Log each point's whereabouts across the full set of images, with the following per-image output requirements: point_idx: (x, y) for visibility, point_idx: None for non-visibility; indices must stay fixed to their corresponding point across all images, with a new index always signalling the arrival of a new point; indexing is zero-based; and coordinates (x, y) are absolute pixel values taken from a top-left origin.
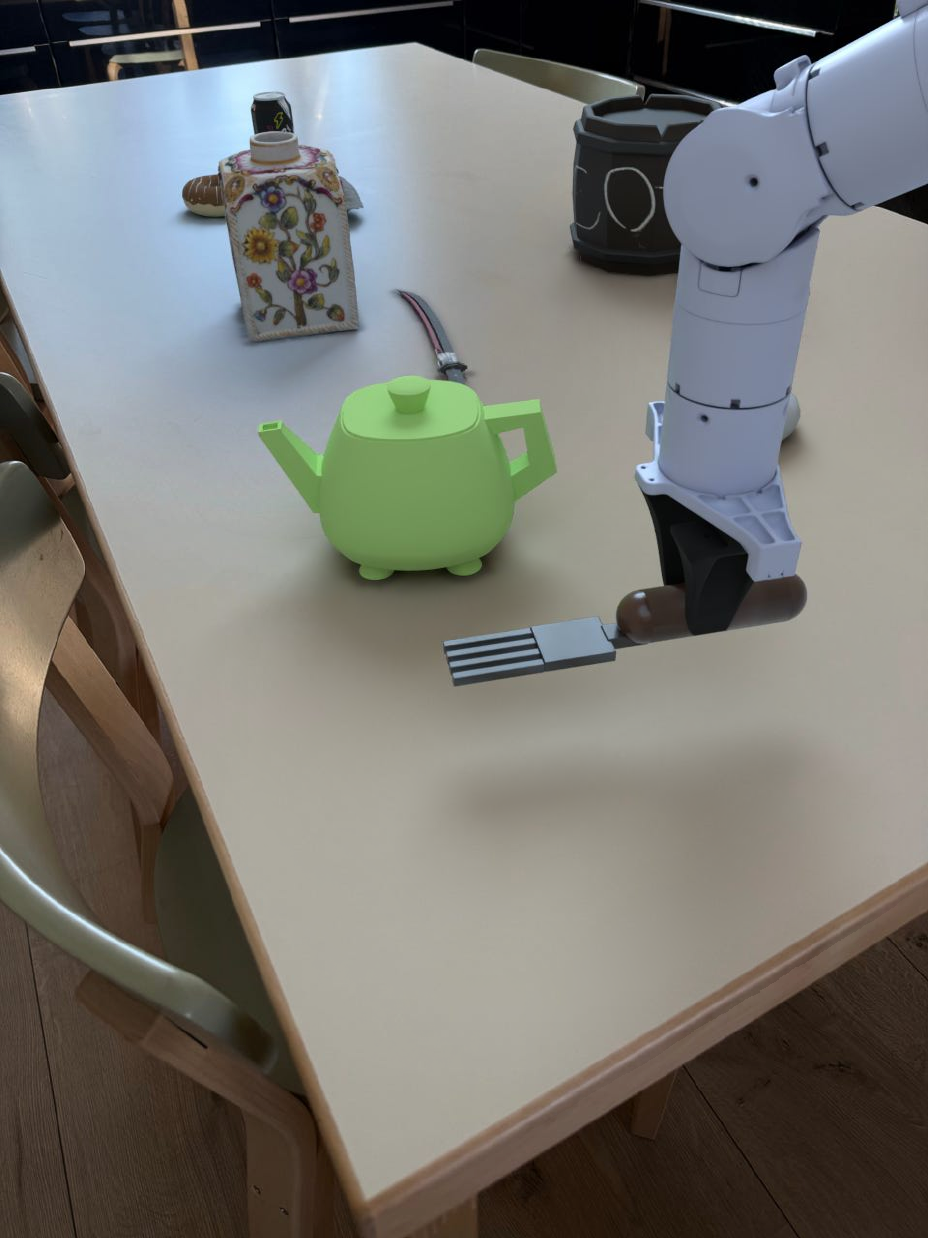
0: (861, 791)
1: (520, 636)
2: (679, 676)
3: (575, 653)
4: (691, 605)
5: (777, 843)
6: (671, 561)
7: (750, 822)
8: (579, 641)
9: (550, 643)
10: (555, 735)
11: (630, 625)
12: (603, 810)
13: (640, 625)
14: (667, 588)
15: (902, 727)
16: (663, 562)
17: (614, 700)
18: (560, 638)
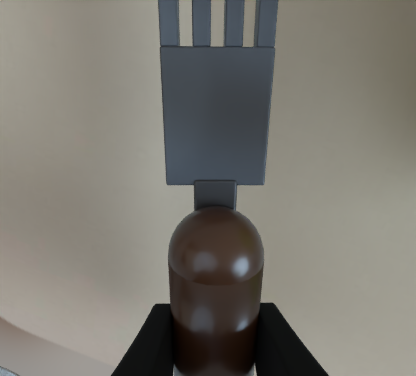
0: (76, 319)
1: (257, 20)
2: None
3: (174, 114)
4: (122, 362)
5: (25, 245)
6: (281, 372)
7: (48, 234)
8: (205, 131)
9: (212, 73)
10: None
11: (182, 227)
12: (68, 112)
13: (173, 243)
14: (227, 326)
15: None
16: (284, 358)
17: None
18: (223, 99)
